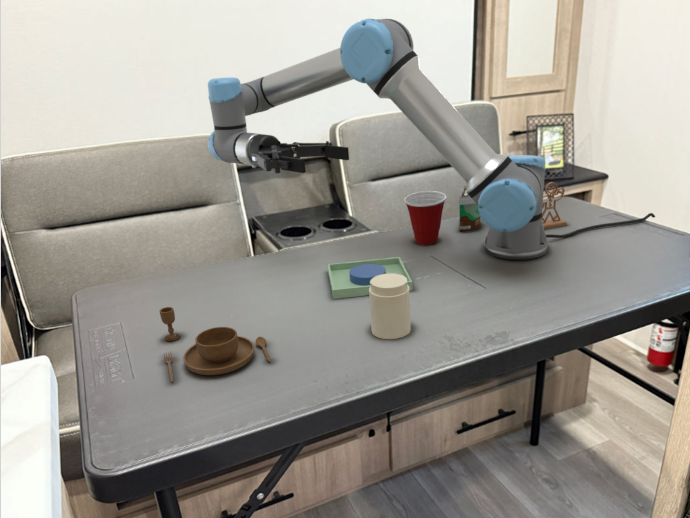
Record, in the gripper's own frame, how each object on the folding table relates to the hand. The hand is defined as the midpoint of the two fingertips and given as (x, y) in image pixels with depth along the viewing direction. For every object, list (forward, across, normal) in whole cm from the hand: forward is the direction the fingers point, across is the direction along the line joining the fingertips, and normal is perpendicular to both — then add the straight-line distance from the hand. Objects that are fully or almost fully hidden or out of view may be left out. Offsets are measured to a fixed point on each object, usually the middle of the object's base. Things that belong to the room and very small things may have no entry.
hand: (326, 159), depth 129 cm
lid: (+10, 0, -24) cm, 26 cm away
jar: (+28, +16, -26) cm, 41 cm away
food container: (+10, -45, -26) cm, 53 cm away
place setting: (+6, +39, -26) cm, 47 cm away
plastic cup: (+6, -28, -26) cm, 39 cm away
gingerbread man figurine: (+27, -56, -26) cm, 67 cm away
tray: (+10, 0, -26) cm, 28 cm away
